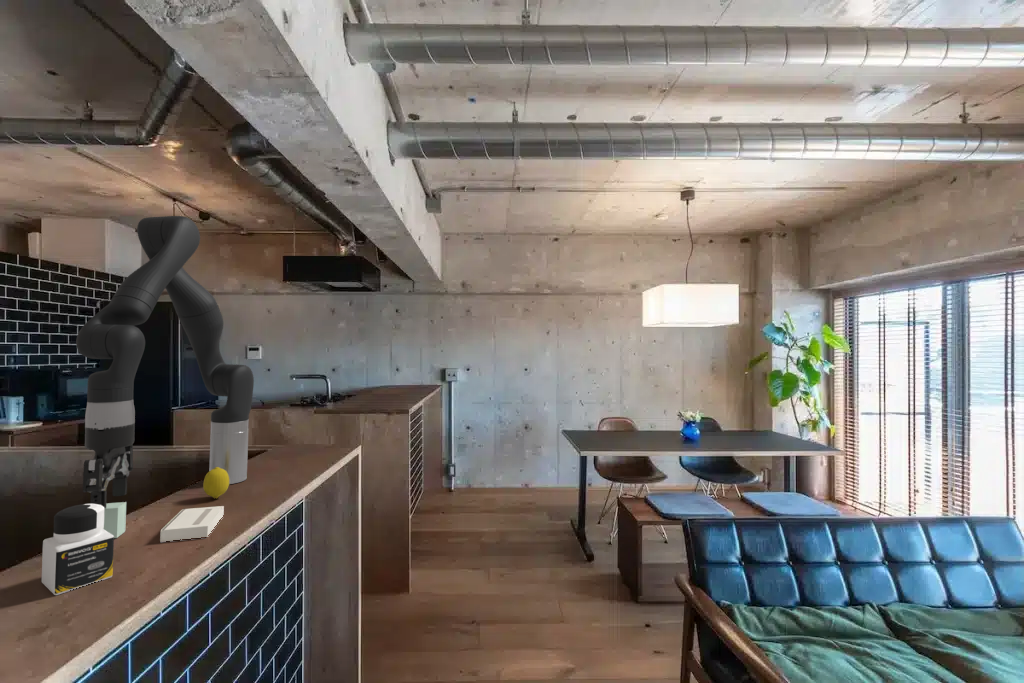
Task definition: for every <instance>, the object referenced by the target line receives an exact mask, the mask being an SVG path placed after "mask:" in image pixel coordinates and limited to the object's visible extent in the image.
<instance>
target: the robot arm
mask: <svg viewBox="0 0 1024 683" xmlns="http://www.w3.org/2000/svg"><path fill="white" fill-rule="evenodd" d="M136 231H137V237H138V240H139V243H140V246H141V248H142V249H143V252H145V255H146V256H147V258H148V259H149V260H148V261H147V262H145V263H144V264H143V265H141V266H140V267H138V268H137V269H135V270H134V271H133V272H131V273H130V274H129V275H127V277H126V278H125V279H123V281H122V282H121V284H120V285H119V286H118V289H117V290H116V291H115V293H114V295H113V296H112V298H111V299H110V302H109V303H108V304H107V305H106V306H104V307H103V308H102V309H100V310H99V311H98V312H97V313H96V314H95V315H93V316H92V317H91V318H90V319H89V320H88V321H87V322H85V323H84V324H83V326H82V327H81V328H80V330H79V332H78V333H77V336H76V342H75V343H76V344H75V345H76V349H77V351H78V352H79V353H80V355H81V356H83V357H85V358H88V359H91V360H95V359H96V360H112V363H111V364H110V366H109V368H108V369H107V370H101V371H96V372H93V373H91V374H90V375H89V376H88V379H87V392H86V393H87V396H86V397H87V399H86V401H87V402H86V408H85V416H84V417H85V422H84V432H85V433H84V448H85V449H87V450H90V451H91V450H92V451H94V457H93V459H85V460H84V461H83V474H82V476H83V477H82V492H83V493H90V503H89V504H99V505H102V506H103V507H104V509H105V508H106V503H107V497H108V496H107V494H108V493H107V488H108V485H109V482H110V481H111V480H112V496H113V497H123V496H125V495H127V494H128V478H129V475H130V472H133V470H134V446H133V444H134V443H135V429H136V428H135V427H136V426H135V425H136V424H135V423H136V419H135V418H136V417H135V416H136V410H135V405H134V402H135V401H134V386H135V385H134V383H135V378H136V373H137V371H138V369H139V366H140V363H141V359H142V357H143V355H144V351H145V349H146V348H145V347H146V339H145V335H144V333H143V332H142V331H141V329H140V328H139V327H137V326H138V325H142V324H144V323H145V322H147V321H148V319H149V318H150V316H151V314H152V312H153V311H154V308H155V307H156V305H157V303H158V301H159V299H160V298H161V296H162V294H163V292H164V290H165V291H166V292H167V295H168V297H169V299H170V300H171V303H172V305H173V308H174V310H175V313H176V315H177V317H178V320H179V322H180V324H181V326H182V328H183V330H184V332H185V334H186V336H187V339H188V342H189V343H190V347H191V348H192V350H193V352H194V355H195V359H196V360H197V361H196V362H197V365H198V367H199V372H200V373H201V374H200V375H201V377H202V381H203V383H204V386H205V388H206V390H207V391H208V393H210V394H211V395H212V396H217V397H226V403H225V405H224V406H222V407H220V408H218V409H217V408H216V409H215V410H213V411H212V412H211V415H210V436H209V437H210V438H209V441H210V442H209V471H211V470H212V469H214V468H215V467H219V468H222V469H224V470H225V471H227V473H228V475H229V485H233V484H237V483H241V482H244V481H246V480H247V478H248V477H247V476H248V475H247V474H248V451H249V422H250V419H249V418H250V413H251V409H252V404H253V395H254V385H255V384H254V382H255V380H254V378H255V377H254V374H253V371H252V368H250V367H249V366H247V365H245V364H232V363H231V364H228V363H226V362H225V360H224V359H223V357H222V354H221V351H220V347H219V346H220V339H221V337H222V334H223V329H224V318H223V316H222V315H223V314H222V313H221V310H220V307H219V305H218V302H217V300H216V299H215V296H213V294H212V293H210V292H209V291H208V290H207V289H206V288H205V287H204V286H203V285H201V284H200V283H199V282H198V281H197V280H196V279H194V278H193V277H192V276H191V275H190V274H189V273H188V272H187V271H186V270H185V268H184V265H186V263H187V262H188V260H190V259H191V257H192V256H194V253H196V251H197V250H198V248H199V246H200V244H201V243H200V242H201V234H200V231H199V228H198V226H197V225H196V222H195V221H194V220H192V219H191V218H189V217H187V216H182V215H165V216H149V217H144V218H142V219H140V220H139V222H138V223H137V229H136ZM209 471H208V472H209Z"/></svg>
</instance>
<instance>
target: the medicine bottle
mask: <svg viewBox="0 0 1024 683" xmlns="http://www.w3.org/2000/svg"><path fill="white" fill-rule="evenodd" d="M103 528H104V507H103V506H102V505H99V504H90V503H82V504H76V505H72V506H68V507H65V508H63V509H62V510H60V511H58V512H56V513H55V514H54V516H53V536H51V537H48V538H45V539H44V540H43V541H42V556H41V558H42V561H41V583H42V584H43V585H44V586H45V587H46V588H47V589H48V590H49V591H50V592H51V593H52V594H53V595H54V596H59V595H62V594H64V593H68V592H71V591H73V589H74V590H77V589H79V587H81V588H83V587H82V586H84V587H86V585H87V586H89V585H88V584H90V585H92V584H91V583H93V584H95V583H94V582H96V583H99V582H102V581H105V580H108V579H111V578H112V577H113V574H114V573H113V572H114V548H115V547H114V546H115V538H114V535H112V534H110V533H109V532H107V531H106V530H104V529H103ZM101 580H102V581H101ZM98 581H99V582H98ZM76 588H77V589H76ZM70 590H71V591H70Z"/></svg>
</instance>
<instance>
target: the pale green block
mask: <svg viewBox="0 0 1024 683" xmlns="http://www.w3.org/2000/svg"><path fill="white" fill-rule="evenodd" d="M126 516H127V501H125V502H124V501H122V502H109V503H107V502H106V508H105V509H104V528H103V529H104V530H106V531H107V532H109V533H110V534H112V535H114V539H117V538H119V537H120V536H121V535H122V534H124V533H125V532H126V525H127V524H126V521H127V517H126Z"/></svg>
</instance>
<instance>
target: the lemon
mask: <svg viewBox="0 0 1024 683" xmlns="http://www.w3.org/2000/svg"><path fill="white" fill-rule="evenodd" d="M202 485H203V486H202V487H203V490H204V493H205V494H206V495H207V496H209V497H212V498H213V499H215V498H216V499H218V498H219V497H220V496H222V495H224V494H225V493H227V490H228V488H229V486H230V484H229V475H228V473H227V471H225V470H224V469H222V468H219V467H215V468H214V469H212V470H211V471H208V472H207V473H206V475H205V476H204V480H203V484H202Z"/></svg>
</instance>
